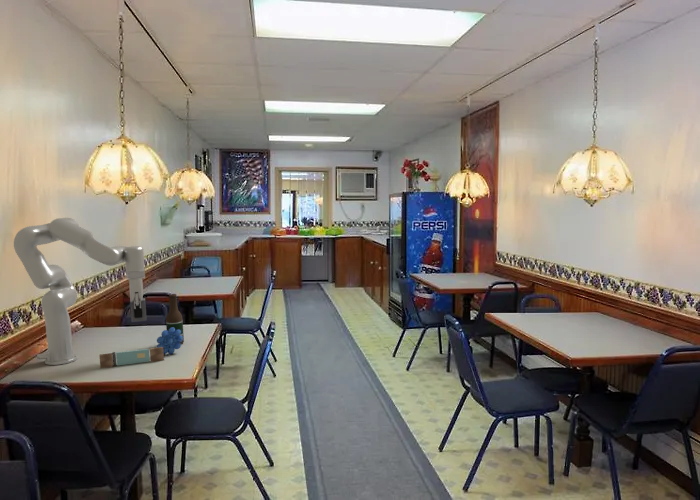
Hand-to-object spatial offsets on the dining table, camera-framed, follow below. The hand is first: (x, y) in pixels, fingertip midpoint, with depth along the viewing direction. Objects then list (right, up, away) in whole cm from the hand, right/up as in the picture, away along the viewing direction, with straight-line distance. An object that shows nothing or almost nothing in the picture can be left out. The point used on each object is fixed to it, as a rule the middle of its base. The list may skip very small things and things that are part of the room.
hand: (138, 315), depth 236 cm
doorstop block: (0, -2, 0) cm, 2 cm away
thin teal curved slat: (0, -19, -7) cm, 20 cm away
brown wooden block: (+1, -19, -7) cm, 20 cm away
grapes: (+12, -18, +7) cm, 22 cm away
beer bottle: (+9, -16, +23) cm, 29 cm away
